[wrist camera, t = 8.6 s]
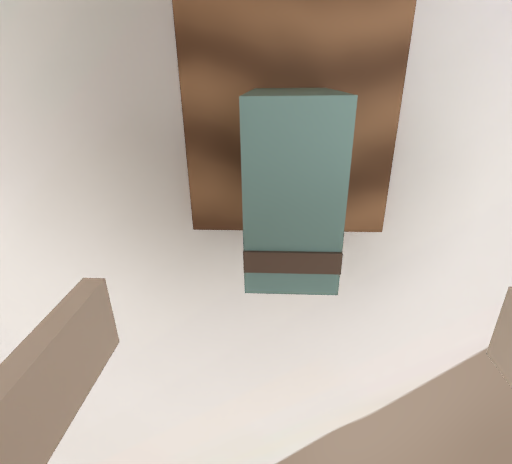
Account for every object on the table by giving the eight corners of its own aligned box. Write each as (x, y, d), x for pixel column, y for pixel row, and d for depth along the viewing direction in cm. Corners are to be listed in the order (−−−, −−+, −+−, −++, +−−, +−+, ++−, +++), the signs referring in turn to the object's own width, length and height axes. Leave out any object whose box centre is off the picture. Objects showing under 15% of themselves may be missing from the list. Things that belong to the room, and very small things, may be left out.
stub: (255, 88, 25) (238, 96, 15) (325, 87, 25) (358, 95, 14) (256, 218, 29) (244, 295, 19) (316, 218, 29) (338, 297, 18)
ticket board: (160, -182, 21) (60, -401, 11) (438, -198, 20) (588, -452, 10) (196, 224, 31) (160, 288, 22) (378, 226, 30) (423, 294, 21)
